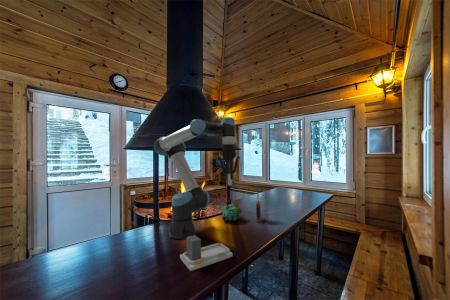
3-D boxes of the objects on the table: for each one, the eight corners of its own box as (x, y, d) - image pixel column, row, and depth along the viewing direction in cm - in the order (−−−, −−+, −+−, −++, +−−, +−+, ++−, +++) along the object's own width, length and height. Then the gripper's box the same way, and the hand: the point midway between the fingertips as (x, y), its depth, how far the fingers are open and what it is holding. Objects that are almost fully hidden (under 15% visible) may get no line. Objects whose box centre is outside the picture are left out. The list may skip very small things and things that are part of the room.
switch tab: (195, 253, 88) (195, 234, 88) (201, 258, 83) (200, 239, 83) (186, 255, 86) (186, 236, 86) (192, 261, 81) (191, 241, 81)
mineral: (216, 217, 146) (216, 203, 147) (236, 215, 151) (236, 202, 151) (224, 225, 129) (223, 209, 129) (246, 222, 133) (246, 207, 134)
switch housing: (218, 246, 98) (218, 241, 98) (232, 256, 88) (232, 250, 88) (180, 258, 87) (180, 252, 87) (190, 271, 77) (190, 264, 77)
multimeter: (271, 225, 127) (270, 194, 128) (256, 224, 129) (255, 193, 130) (271, 218, 141) (270, 190, 142) (257, 217, 143) (256, 190, 144)
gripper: (241, 144, 116) (242, 184, 115) (220, 145, 120) (220, 184, 119) (238, 143, 109) (239, 186, 108) (216, 144, 112) (216, 185, 111)
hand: (229, 185), depth 113 cm, fingers closed
